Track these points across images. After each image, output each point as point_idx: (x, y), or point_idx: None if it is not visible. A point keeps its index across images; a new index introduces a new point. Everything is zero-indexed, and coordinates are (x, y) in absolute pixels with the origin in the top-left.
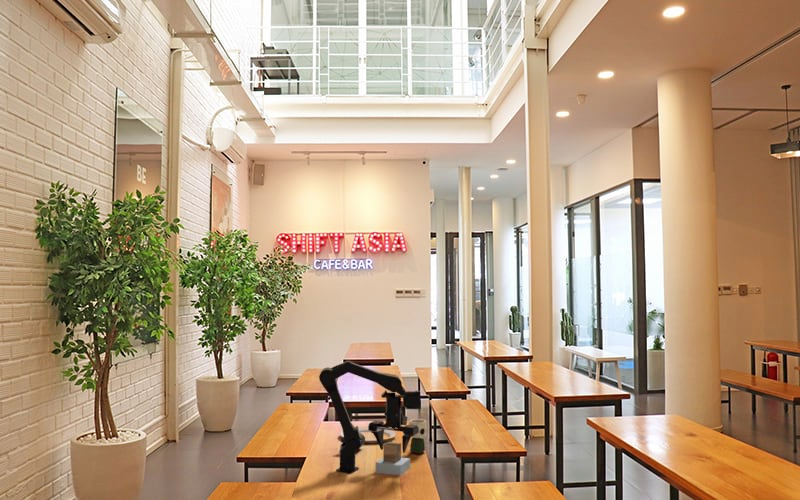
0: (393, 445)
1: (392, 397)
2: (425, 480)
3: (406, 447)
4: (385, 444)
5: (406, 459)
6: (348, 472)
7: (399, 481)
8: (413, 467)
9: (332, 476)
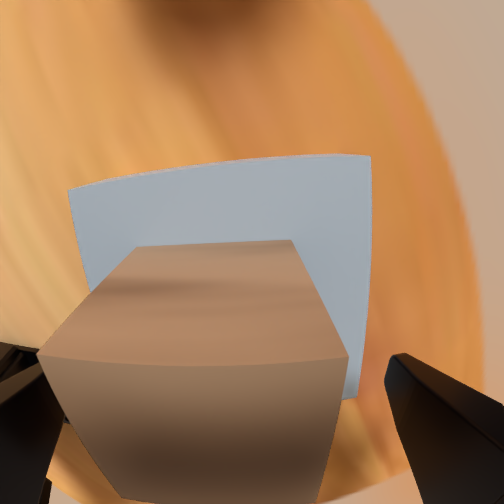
0: (262, 495)
1: None
2: (474, 340)
3: (451, 390)
4: (125, 487)
5: (349, 210)
6: (65, 420)
7: (358, 419)
8: (358, 125)
9: (59, 449)
